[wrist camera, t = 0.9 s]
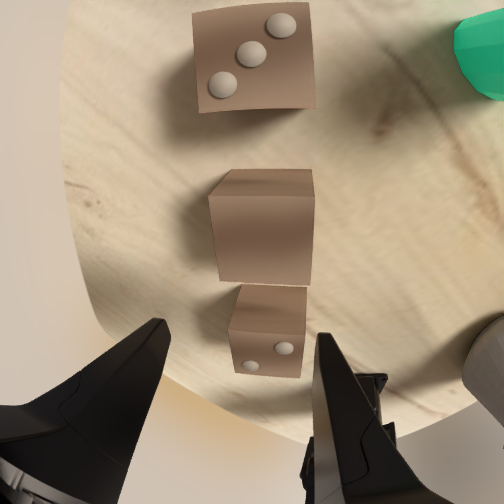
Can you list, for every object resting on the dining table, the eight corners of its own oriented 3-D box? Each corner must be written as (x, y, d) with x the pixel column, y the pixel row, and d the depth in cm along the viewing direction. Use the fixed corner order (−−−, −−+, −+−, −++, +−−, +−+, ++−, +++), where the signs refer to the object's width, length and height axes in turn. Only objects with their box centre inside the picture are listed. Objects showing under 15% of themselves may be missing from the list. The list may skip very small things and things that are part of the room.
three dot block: (311, 105, 15) (315, 108, 10) (224, 108, 15) (194, 114, 11) (306, 28, 12) (309, 1, 8) (219, 33, 13) (187, 13, 9)
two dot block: (303, 331, 24) (300, 379, 20) (244, 327, 25) (232, 374, 20) (306, 286, 21) (305, 337, 17) (240, 283, 22) (224, 331, 18)
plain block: (309, 240, 19) (310, 285, 15) (237, 238, 20) (219, 280, 16) (311, 169, 17) (314, 197, 12) (231, 169, 18) (207, 196, 13)
